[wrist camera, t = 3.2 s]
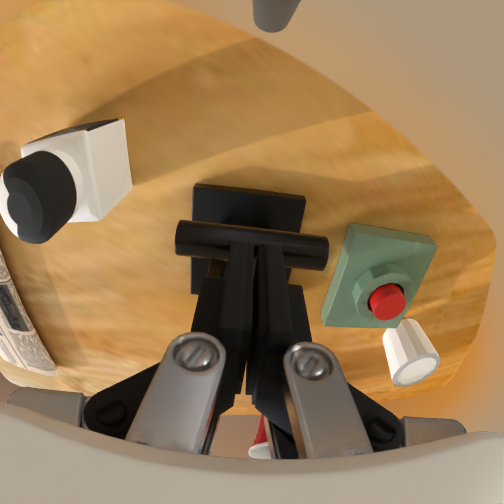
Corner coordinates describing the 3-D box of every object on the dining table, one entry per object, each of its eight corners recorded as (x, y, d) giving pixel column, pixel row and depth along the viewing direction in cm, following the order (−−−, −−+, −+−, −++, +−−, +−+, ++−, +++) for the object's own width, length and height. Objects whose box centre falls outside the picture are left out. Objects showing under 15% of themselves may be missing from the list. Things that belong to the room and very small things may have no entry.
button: (376, 281, 27) (381, 293, 26) (405, 284, 28) (411, 294, 26) (364, 308, 29) (368, 320, 28) (392, 310, 30) (397, 321, 28)
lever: (183, 203, 12) (170, 252, 11) (326, 220, 12) (331, 270, 11) (197, 313, 22) (193, 343, 21) (276, 321, 22) (275, 351, 21)
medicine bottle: (125, 116, 23) (44, 147, 13) (134, 189, 27) (71, 257, 16) (64, 128, 23) (-22, 166, 13) (75, 194, 27) (5, 255, 17)
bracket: (195, 182, 26) (153, 261, 15) (304, 195, 27) (336, 281, 16) (192, 287, 33) (168, 383, 22) (282, 296, 33) (290, 395, 22)
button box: (349, 222, 28) (361, 242, 25) (428, 235, 29) (445, 255, 25) (320, 313, 34) (325, 337, 31) (391, 316, 35) (401, 338, 32)
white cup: (429, 313, 35) (449, 350, 29) (412, 346, 39) (427, 383, 33) (387, 316, 35) (404, 357, 29) (372, 350, 39) (384, 390, 33)
